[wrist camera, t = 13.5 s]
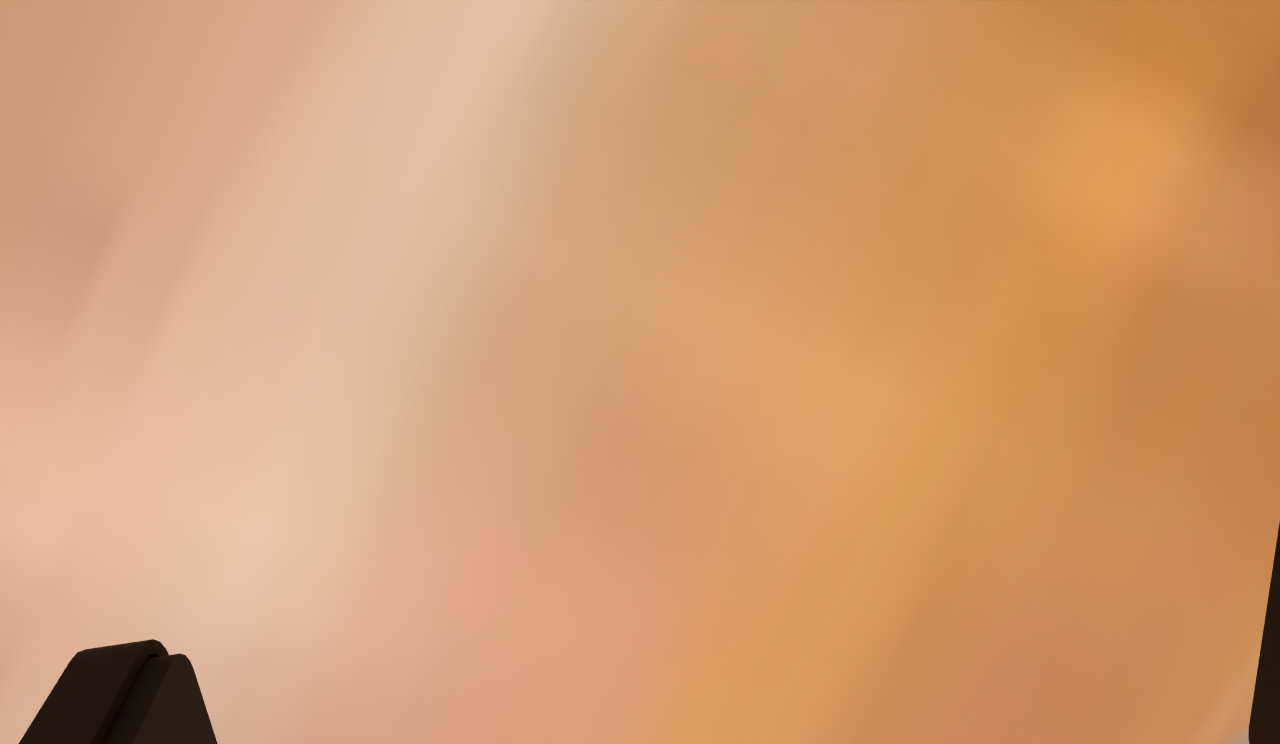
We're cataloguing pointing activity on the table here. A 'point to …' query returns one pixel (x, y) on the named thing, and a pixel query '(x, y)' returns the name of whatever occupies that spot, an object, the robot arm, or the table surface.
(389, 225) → the table surface
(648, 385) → the table surface
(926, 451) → the table surface
